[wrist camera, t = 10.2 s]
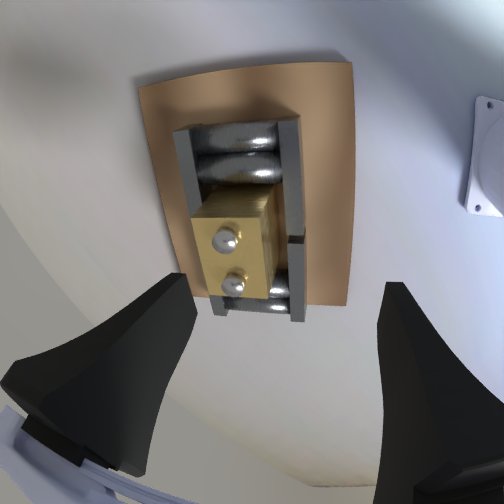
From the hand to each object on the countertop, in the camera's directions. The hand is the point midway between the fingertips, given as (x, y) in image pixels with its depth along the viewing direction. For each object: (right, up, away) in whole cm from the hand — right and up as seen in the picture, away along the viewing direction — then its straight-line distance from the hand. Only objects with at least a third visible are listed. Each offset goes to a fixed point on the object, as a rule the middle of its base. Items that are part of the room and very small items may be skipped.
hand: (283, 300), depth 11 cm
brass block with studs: (-1, +4, +9) cm, 10 cm away
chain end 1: (-1, +7, +8) cm, 10 cm away
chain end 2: (-1, +1, +11) cm, 11 cm away
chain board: (-1, +5, +10) cm, 11 cm away
